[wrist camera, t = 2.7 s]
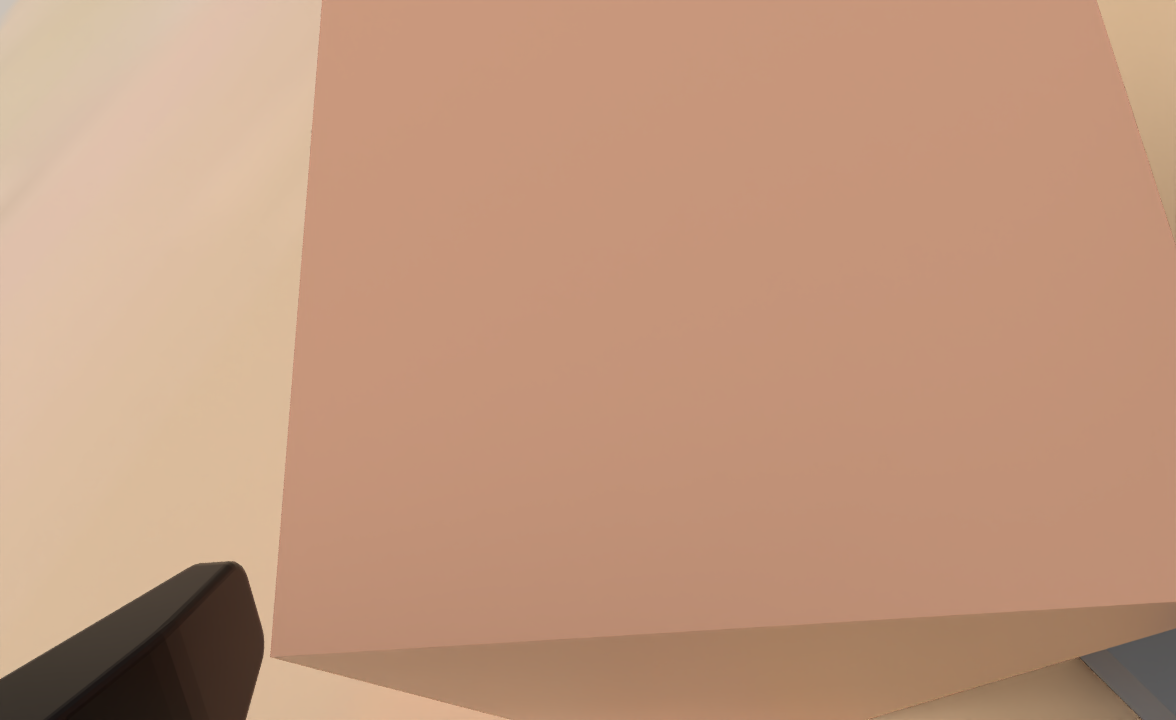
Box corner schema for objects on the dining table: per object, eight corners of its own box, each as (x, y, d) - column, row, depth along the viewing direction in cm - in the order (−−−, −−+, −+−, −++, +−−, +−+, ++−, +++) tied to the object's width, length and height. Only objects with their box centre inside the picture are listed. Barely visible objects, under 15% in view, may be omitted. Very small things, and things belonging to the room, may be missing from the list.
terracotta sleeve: (865, 720, 17) (1290, 594, 5) (573, 736, 17) (270, 656, 5) (823, 440, 18) (1046, -156, 7) (562, 460, 19) (327, -67, 7)
